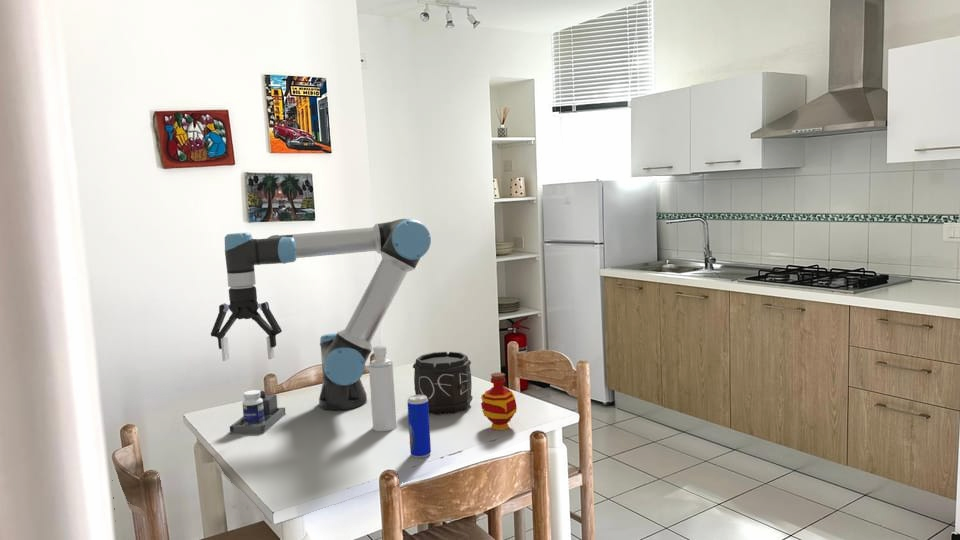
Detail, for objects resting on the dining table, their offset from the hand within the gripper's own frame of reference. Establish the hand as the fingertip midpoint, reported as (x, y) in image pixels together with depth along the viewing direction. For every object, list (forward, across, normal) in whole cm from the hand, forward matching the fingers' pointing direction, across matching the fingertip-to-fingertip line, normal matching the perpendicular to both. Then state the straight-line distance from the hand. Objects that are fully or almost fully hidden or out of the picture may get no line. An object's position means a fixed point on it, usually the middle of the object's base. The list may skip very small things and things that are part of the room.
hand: (248, 359), depth 199 cm
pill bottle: (+20, 0, 0) cm, 20 cm away
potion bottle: (+21, -72, +3) cm, 75 cm away
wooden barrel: (+21, -54, -16) cm, 60 cm away
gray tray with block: (+20, 0, -3) cm, 21 cm away
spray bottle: (+21, -39, +2) cm, 45 cm away
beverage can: (+21, -53, +23) cm, 62 cm away
